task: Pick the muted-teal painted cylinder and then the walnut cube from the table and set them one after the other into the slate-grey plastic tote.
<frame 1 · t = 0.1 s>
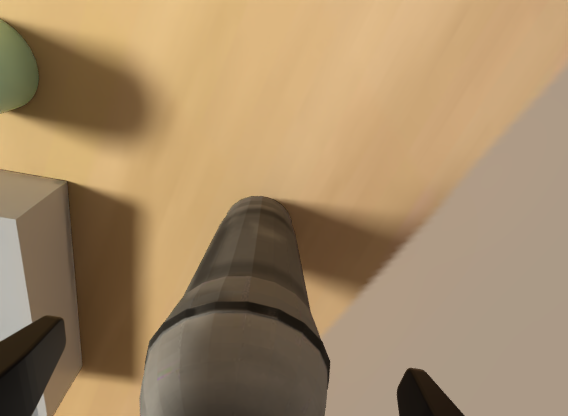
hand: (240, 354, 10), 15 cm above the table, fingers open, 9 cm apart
beverage cup: (258, 224, 25), on the table
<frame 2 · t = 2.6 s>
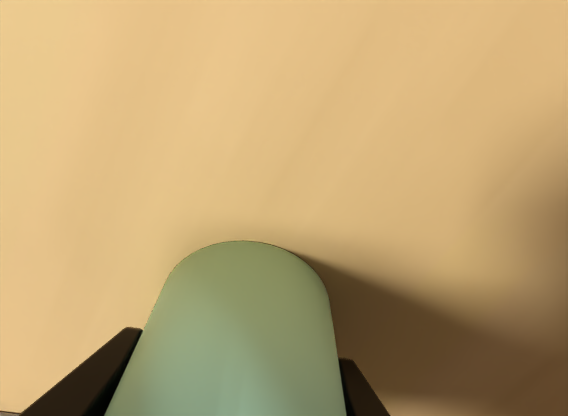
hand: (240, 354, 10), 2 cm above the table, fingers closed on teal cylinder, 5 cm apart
teal cylinder: (246, 312, 11), on the table, touching gripper
when the fingers open (4 cm above the table, at t = 6.0 s): teal cylinder drops 2 cm, resting on tote.
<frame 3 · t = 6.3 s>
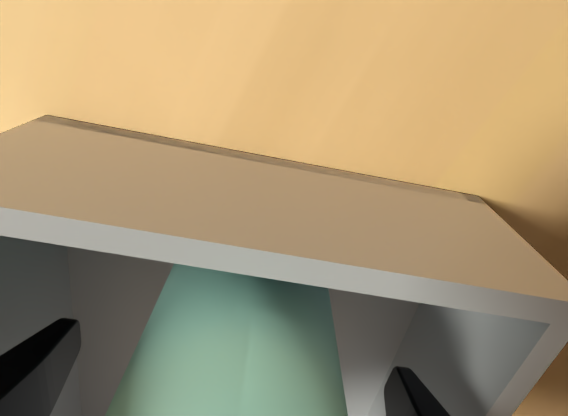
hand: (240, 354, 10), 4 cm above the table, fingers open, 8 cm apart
tote: (234, 354, 15), on the table
teal cylinder: (251, 276, 12), point 1 cm above the table, touching tote
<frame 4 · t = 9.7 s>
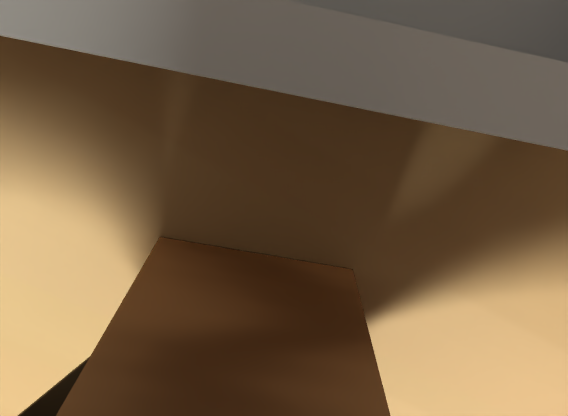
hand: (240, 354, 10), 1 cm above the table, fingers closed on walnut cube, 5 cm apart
walnut cube: (244, 324, 11), on the table, touching gripper
when the fingers open (4 cm above the table, at t = 13.3 s): walnut cube drops 2 cm, resting on tote.
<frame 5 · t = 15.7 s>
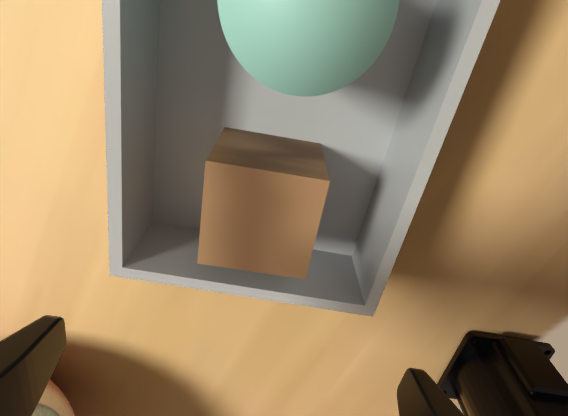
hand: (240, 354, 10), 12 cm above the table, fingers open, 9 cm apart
walnut cube: (265, 179, 20), point 1 cm above the table, touching tote
tote: (279, 102, 19), on the table
teal cylinder: (298, 3, 16), point 1 cm above the table, touching tote
eyeball: (21, 379, 29), on the table
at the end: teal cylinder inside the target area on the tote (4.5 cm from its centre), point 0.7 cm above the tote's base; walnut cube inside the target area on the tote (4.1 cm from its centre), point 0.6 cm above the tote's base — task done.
